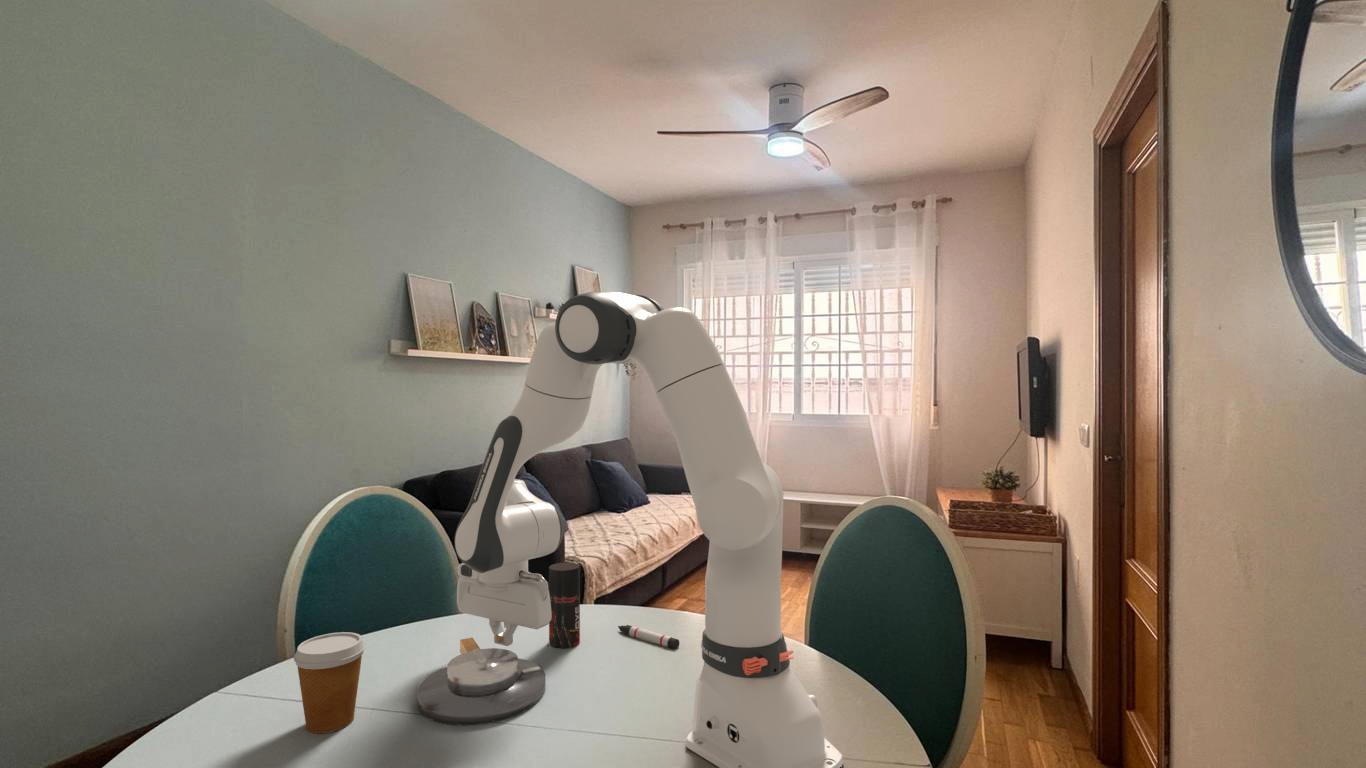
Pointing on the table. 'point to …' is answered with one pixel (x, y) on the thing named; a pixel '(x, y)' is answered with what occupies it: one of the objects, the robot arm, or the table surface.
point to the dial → (481, 669)
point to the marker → (650, 636)
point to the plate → (480, 698)
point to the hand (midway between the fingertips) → (503, 643)
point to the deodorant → (564, 605)
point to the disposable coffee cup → (329, 679)
